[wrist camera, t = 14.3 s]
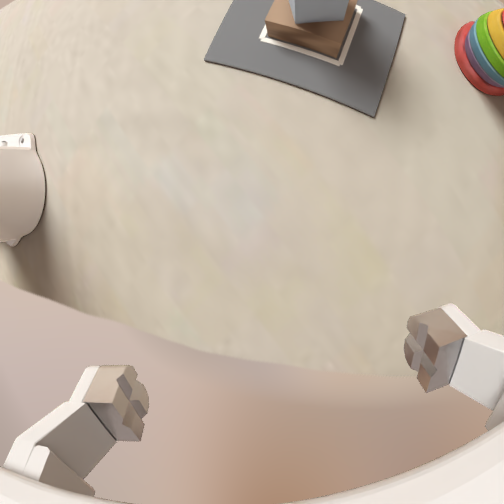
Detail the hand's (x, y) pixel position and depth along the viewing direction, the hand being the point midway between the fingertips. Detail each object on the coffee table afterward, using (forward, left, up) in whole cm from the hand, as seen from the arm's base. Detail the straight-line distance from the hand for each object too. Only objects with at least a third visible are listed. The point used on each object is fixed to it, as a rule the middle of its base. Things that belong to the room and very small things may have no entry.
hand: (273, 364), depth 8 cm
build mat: (-6, +23, -25) cm, 35 cm away
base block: (-6, +24, -25) cm, 35 cm away
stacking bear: (+16, +31, -26) cm, 43 cm away
